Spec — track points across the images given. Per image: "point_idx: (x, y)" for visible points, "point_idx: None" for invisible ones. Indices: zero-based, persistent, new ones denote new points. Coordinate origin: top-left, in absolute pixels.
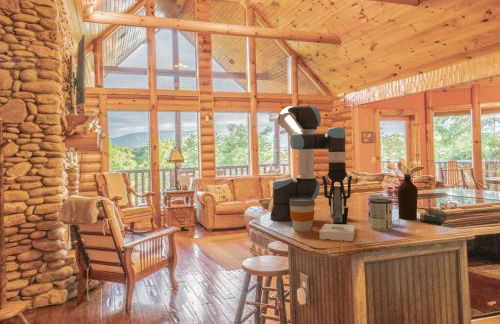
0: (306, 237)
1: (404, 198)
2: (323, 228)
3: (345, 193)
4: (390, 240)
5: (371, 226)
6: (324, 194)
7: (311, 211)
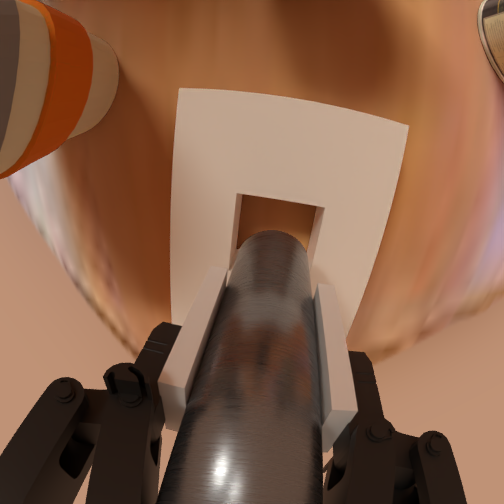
0: (122, 269)
1: None
2: (181, 259)
3: (387, 494)
4: (480, 299)
5: (490, 40)
6: (65, 446)
7: (36, 119)
